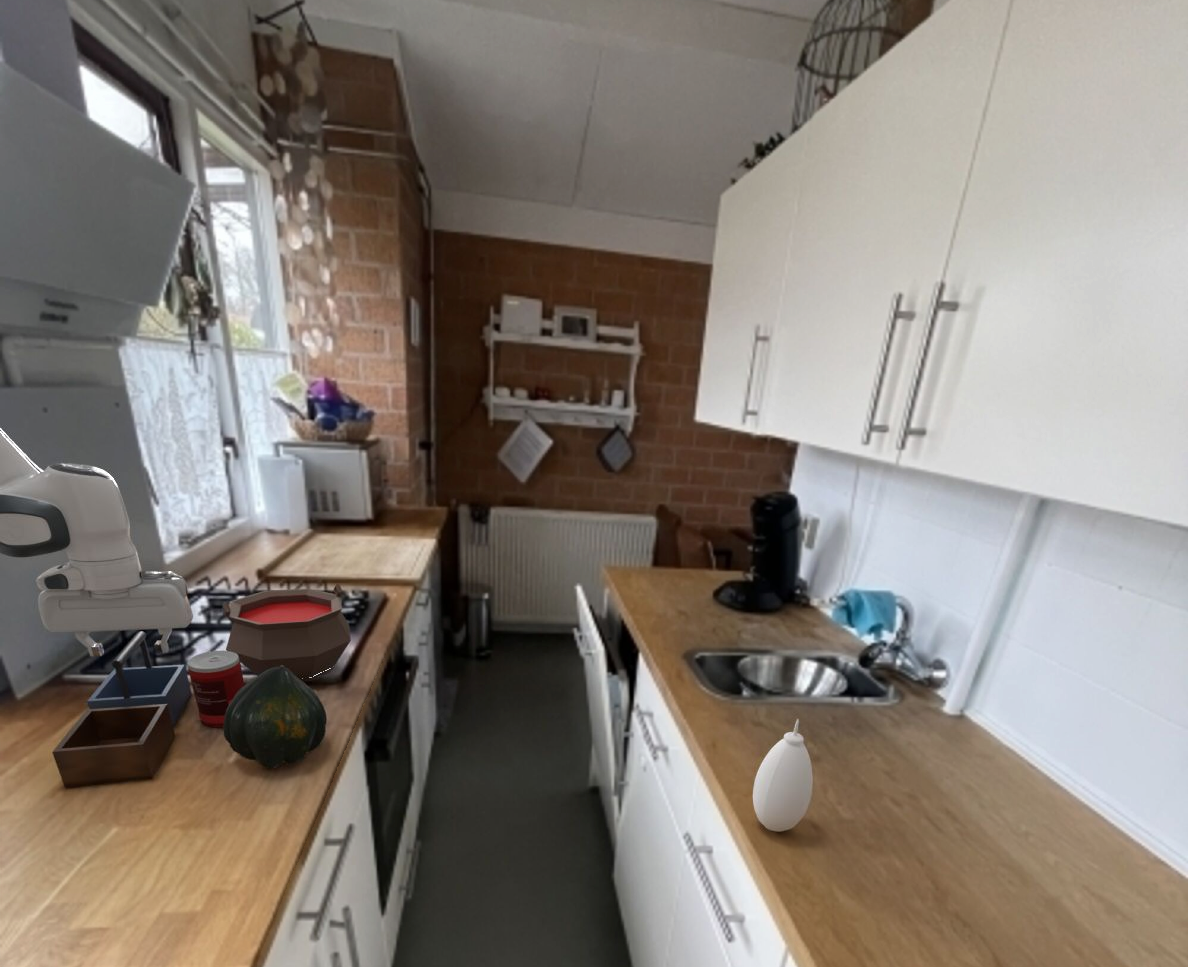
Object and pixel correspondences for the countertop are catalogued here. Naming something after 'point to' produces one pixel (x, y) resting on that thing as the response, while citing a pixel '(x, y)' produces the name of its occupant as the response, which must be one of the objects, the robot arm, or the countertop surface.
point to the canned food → (215, 684)
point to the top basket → (143, 683)
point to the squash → (275, 719)
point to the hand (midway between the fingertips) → (130, 653)
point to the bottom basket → (115, 745)
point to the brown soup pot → (288, 631)
